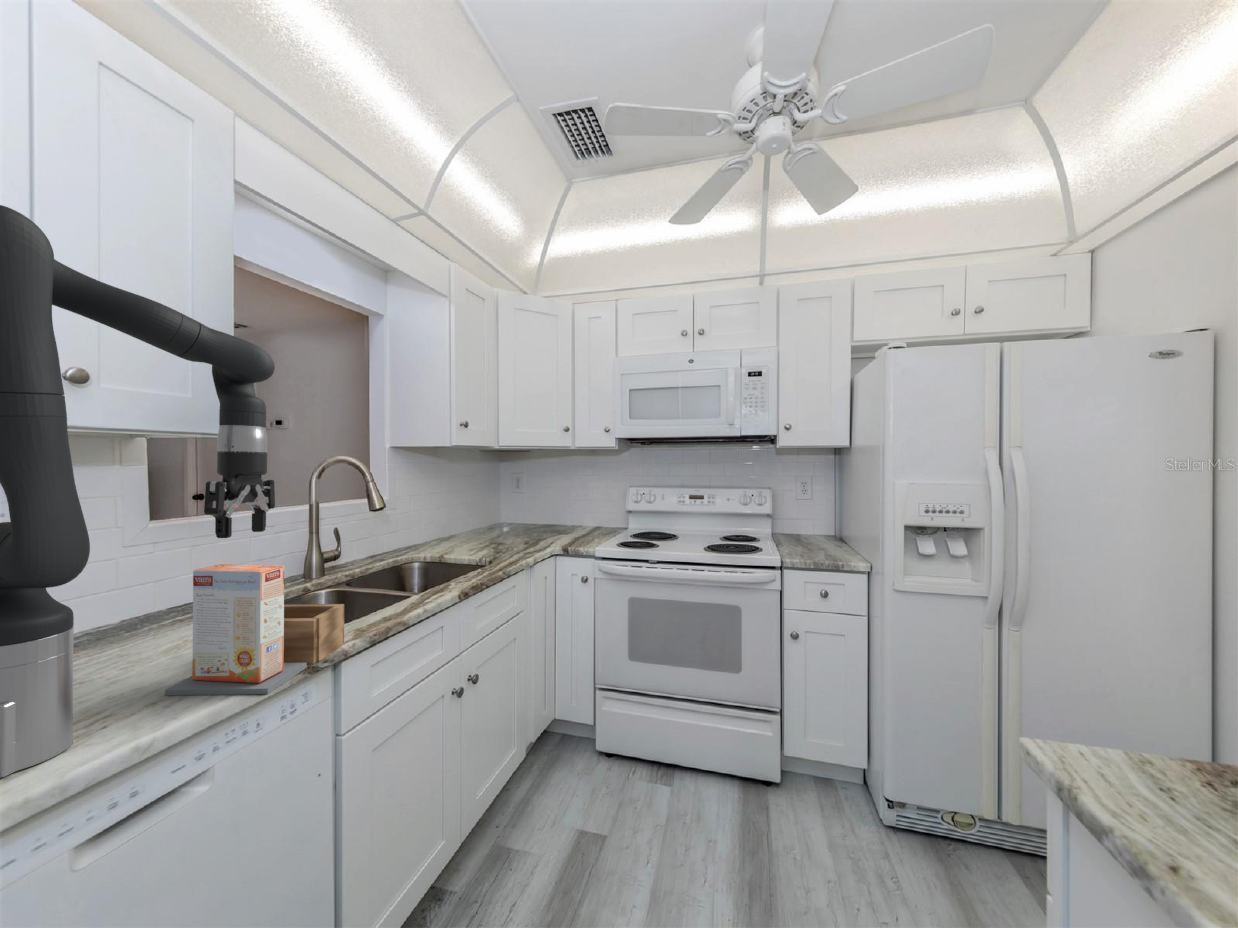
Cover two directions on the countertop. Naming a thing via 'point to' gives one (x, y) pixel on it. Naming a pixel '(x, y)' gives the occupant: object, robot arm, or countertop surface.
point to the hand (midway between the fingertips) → (242, 534)
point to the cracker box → (238, 623)
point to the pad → (235, 684)
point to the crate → (312, 631)
